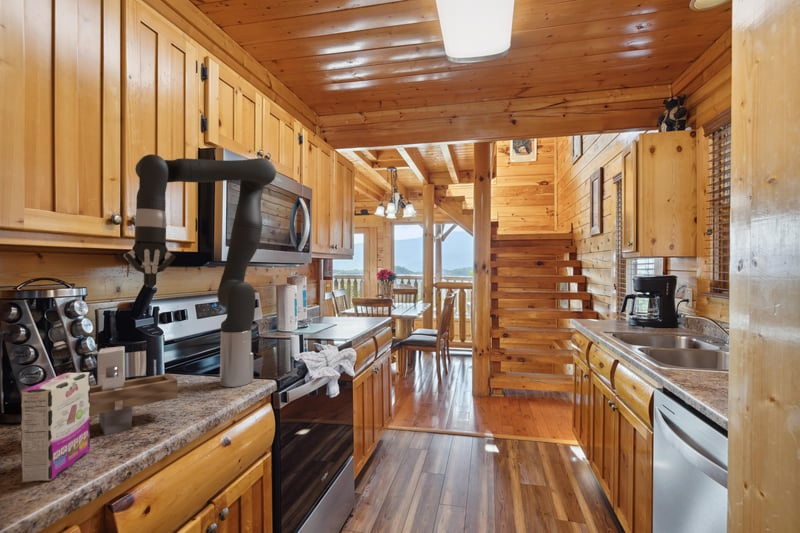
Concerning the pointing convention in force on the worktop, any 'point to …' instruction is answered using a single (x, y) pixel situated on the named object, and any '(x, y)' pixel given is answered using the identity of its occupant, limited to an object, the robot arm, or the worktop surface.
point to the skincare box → (111, 360)
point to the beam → (129, 400)
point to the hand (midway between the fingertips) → (149, 286)
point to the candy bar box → (54, 425)
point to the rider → (111, 379)
